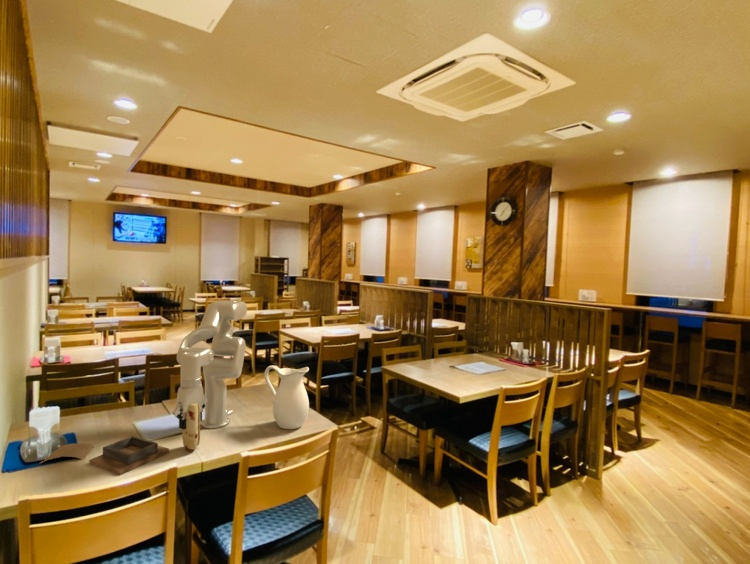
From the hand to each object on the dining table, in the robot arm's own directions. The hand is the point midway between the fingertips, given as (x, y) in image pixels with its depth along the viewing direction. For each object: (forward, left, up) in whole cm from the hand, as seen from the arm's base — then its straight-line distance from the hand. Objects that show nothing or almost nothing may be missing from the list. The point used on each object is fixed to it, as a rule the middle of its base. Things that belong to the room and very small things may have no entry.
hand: (190, 424), depth 165 cm
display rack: (+15, -15, -11) cm, 24 cm away
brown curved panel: (+25, -38, -11) cm, 47 cm away
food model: (0, 0, -10) cm, 10 cm away
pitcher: (-40, +17, -11) cm, 45 cm away
